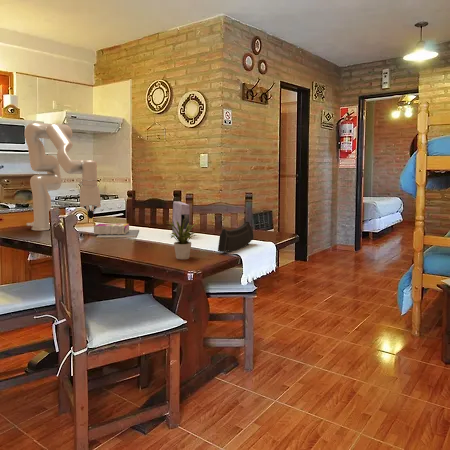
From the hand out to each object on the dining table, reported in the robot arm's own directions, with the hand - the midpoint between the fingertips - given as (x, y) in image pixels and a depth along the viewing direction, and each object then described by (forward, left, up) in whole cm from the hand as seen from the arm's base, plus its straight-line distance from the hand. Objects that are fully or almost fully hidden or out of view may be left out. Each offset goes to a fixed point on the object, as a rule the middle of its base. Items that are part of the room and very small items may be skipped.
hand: (90, 218), depth 238 cm
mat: (+15, 0, -9) cm, 17 cm away
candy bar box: (+3, 0, -6) cm, 6 cm away
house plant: (+46, -66, -9) cm, 81 cm away
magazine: (+72, -48, -9) cm, 87 cm away
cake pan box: (+48, -8, -9) cm, 49 cm away
